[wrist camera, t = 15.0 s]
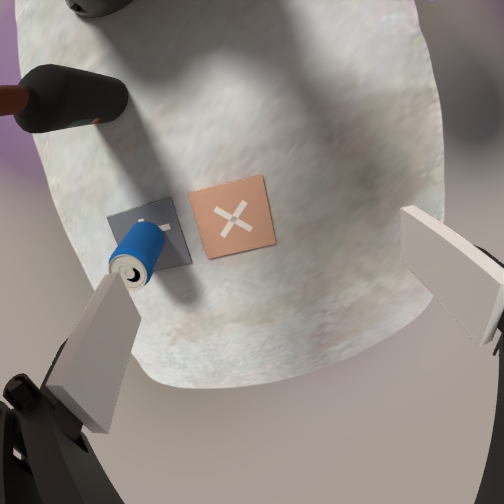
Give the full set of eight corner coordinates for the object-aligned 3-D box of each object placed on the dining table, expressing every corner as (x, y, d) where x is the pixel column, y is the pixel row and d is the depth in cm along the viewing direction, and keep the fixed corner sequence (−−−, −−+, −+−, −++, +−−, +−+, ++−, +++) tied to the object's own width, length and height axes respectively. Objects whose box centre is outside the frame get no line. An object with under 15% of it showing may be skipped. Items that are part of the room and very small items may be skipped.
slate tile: (107, 216, 46) (106, 217, 45) (170, 197, 46) (170, 198, 45) (132, 275, 51) (131, 277, 51) (191, 261, 51) (191, 263, 50)
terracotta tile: (188, 192, 46) (187, 193, 45) (261, 175, 45) (262, 175, 45) (208, 257, 51) (207, 259, 50) (275, 242, 51) (276, 243, 50)
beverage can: (155, 260, 50) (139, 300, 39) (124, 242, 48) (99, 279, 37) (172, 231, 47) (157, 267, 37) (139, 212, 45) (115, 243, 35)
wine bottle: (137, 100, 38) (10, 96, 11) (102, 131, 39) (-35, 174, 13) (112, 68, 35) (-20, 37, 8) (79, 99, 36) (-63, 113, 10)
